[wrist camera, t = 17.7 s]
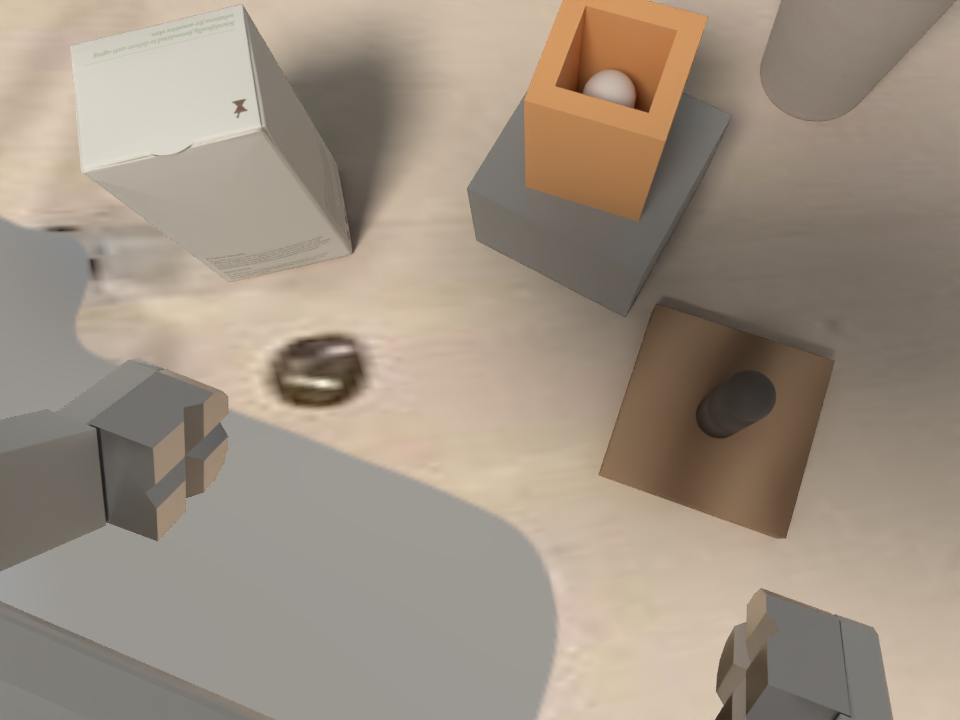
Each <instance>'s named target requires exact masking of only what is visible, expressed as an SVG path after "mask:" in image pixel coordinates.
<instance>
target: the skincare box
mask: <svg viewBox="0 0 960 720" xmlns="http://www.w3.org/2000/svg"><path fill="white" fill-rule="evenodd" d="M70 48H71V56H72V69H73V82H74V94H75V106H76V118H77V129H78V141H79V152H80V162H81V171H82V173H83V174H85V175H86V176H88V177H89V178H90V179H92V180H93V181H94V182H96V183H97V184H98V185H100V186H101V187H102V188H104V189H105V190H106V191H108V192H109V193H110V194H112V195H113V196H114V197H116V198H117V199H118V200H120V201H121V202H122V203H124V204H125V205H126V206H128V207H129V208H130V209H132V210H133V211H134V212H136V213H137V214H138V215H140V216H141V217H143V218H144V219H145V220H147V221H148V222H149V223H151V224H152V225H153V226H155V227H156V228H157V229H158V230H160V231H161V232H162V233H164V234H165V235H167V236H168V237H169V238H170V239H172V240H173V241H174V242H176V243H177V244H179V245H180V246H181V247H183V248H184V249H185V250H187V251H188V252H189V253H190V254H192V255H193V256H194V257H196V258H197V259H198V260H200V261H201V262H202V263H204V264H205V265H206V266H208V267H209V268H210V269H212V270H213V271H214V272H216V273H217V274H218V275H220V276H221V277H222V278H224V279H225V280H226V281H228V282H233V281H237V280H242V279H246V278H251V277H255V276H260V275H264V274H269V273H273V272H278V271H282V270H286V269H291V268H295V267H300V266H304V265H308V264H313V263H317V262H321V261H325V260H330V259H334V258H338V257H342V256H346V255H350V254H351V253H352V244H351V238H350V232H349V225H348V219H347V214H346V209H345V203H344V197H343V192H342V186H341V181H340V176H339V170H338V165H337V163H336V161H335V160H334V158H333V156H332V155H331V153H330V151H329V150H328V148H327V146H326V145H325V143H324V141H323V140H322V138H321V136H320V134H319V133H318V131H317V129H316V128H315V126H314V124H313V122H312V121H311V119H310V117H309V116H308V114H307V112H306V111H305V109H304V107H303V106H302V104H301V102H300V100H299V99H298V97H297V95H296V94H295V92H294V90H293V89H292V87H291V85H290V84H289V82H288V80H287V78H286V77H285V75H284V74H283V72H282V70H281V68H280V67H279V65H278V63H277V62H276V60H275V58H274V57H273V55H272V53H271V51H270V50H269V48H268V46H267V45H266V43H265V41H264V39H263V38H262V36H261V35H260V33H259V32H258V30H257V28H256V26H255V24H254V23H253V21H252V19H251V18H250V16H249V14H248V13H247V11H246V9H245V7H244V6H243V4H239V5H235V6H231V7H227V8H223V9H220V10H216V11H212V12H208V13H204V14H199V15H195V16H191V17H187V18H183V19H179V20H175V21H171V22H167V23H163V24H158V25H154V26H150V27H146V28H142V29H138V30H134V31H129V32H125V33H121V34H117V35H113V36H109V37H104V38H100V39H96V40H92V41H87V42H83V43H79V44H75V45H71V47H70Z"/></svg>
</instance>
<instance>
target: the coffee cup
mask: <svg viewBox="0 0 960 720" xmlns="http://www.w3.org/2000/svg"><path fill="white" fill-rule="evenodd" d="M956 1H957V0H782V1H781V4H780V7H779V10H778V13H777V16H776V19H775V22H774V25H773V28H772V31H771V34H770V37H769V40H768V43H767V46H766V49H765V52H764V55H763V59H762V62H761V68H760V76H761V82H762V85H763V88H764V90H765V92H766V94H767V95H768V97H769V98H770V100H771V101H772V102H773V103H774V104H775V105H776V106H777V107H778V108H780V109H781V110H782V111H784V112H786V113H787V114H789V115H791V116H794V117H797V118H800V119H804V120H809V121H825V120H831V119H834V118H838V117H840V116H842V115H844V114H846V113H848V112H849V111H851V110H852V109H853V108H854V107H856V106H857V105H858V104H859V102H860V101H861V100H862V99H863V98H864V97H865V96H866V95H867V94H868V93H869V92H870V91H871V90H872V89H873V88H874V87H875V86H876V85H877V84H878V82H879V81H880V80H881V79H882V78H883V77H884V76H885V75H886V74H887V73H888V72H889V71H890V70H891V69H892V68H893V67H894V66H895V65H896V64H897V62H898V61H899V60H900V59H901V58H902V57H903V56H904V55H905V54H906V53H907V52H908V51H909V50H910V49H911V48H912V47H913V46H914V45H915V44H916V43H917V41H918V40H919V39H920V38H921V37H922V36H923V35H924V34H925V33H926V32H927V31H928V30H929V29H930V28H931V27H932V26H933V25H934V24H935V23H936V22H937V21H938V19H939V18H940V17H941V16H942V15H943V14H944V13H945V12H946V11H947V10H948V9H949V8H950V7H951V6H952V5H953V4H954V3H955V2H956Z"/></svg>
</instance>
